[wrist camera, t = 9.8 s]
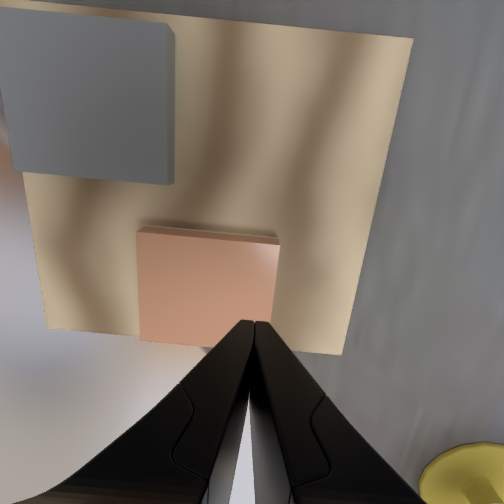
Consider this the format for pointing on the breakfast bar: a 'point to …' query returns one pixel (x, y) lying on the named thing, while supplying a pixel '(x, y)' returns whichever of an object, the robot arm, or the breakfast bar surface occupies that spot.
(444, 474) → the candle
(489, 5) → the breakfast bar surface
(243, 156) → the oak board
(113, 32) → the slate tile
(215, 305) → the terracotta tile
